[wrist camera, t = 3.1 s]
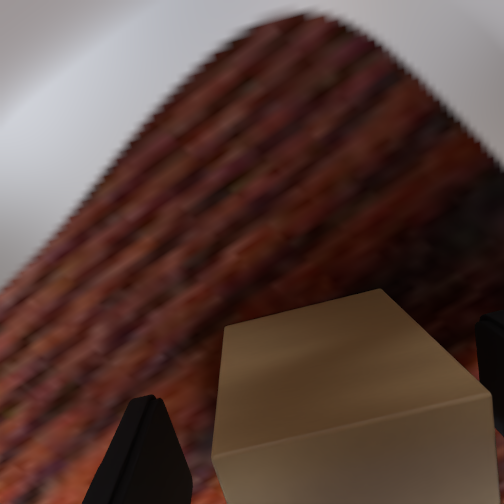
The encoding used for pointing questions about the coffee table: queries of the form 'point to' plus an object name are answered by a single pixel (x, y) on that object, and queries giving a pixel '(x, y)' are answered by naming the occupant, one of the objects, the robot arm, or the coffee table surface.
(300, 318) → the block
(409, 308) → the coffee table surface
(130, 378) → the coffee table surface
